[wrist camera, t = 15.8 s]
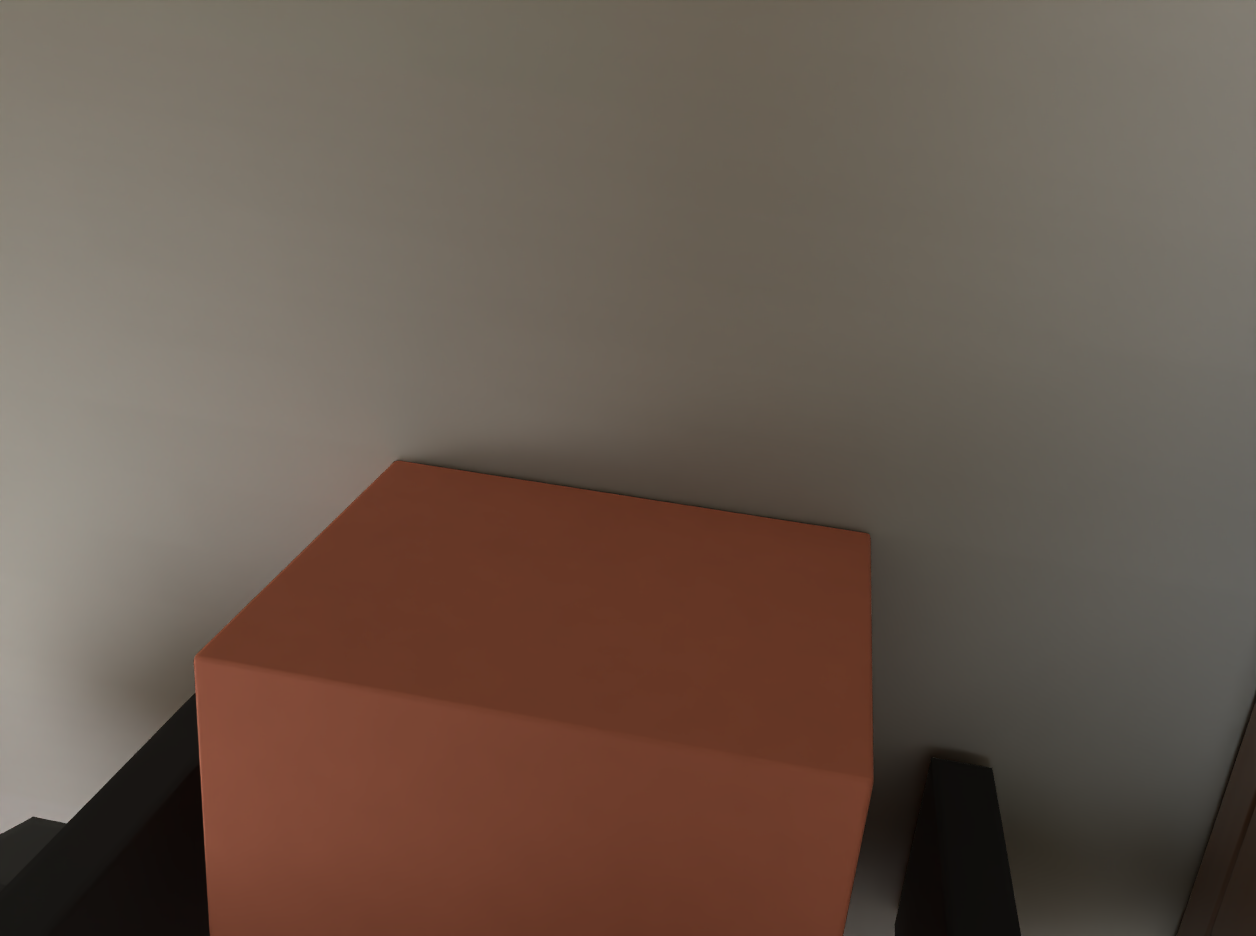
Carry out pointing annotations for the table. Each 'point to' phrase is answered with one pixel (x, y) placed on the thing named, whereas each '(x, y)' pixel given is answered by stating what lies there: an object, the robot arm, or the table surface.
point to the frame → (1229, 857)
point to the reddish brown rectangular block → (540, 721)
